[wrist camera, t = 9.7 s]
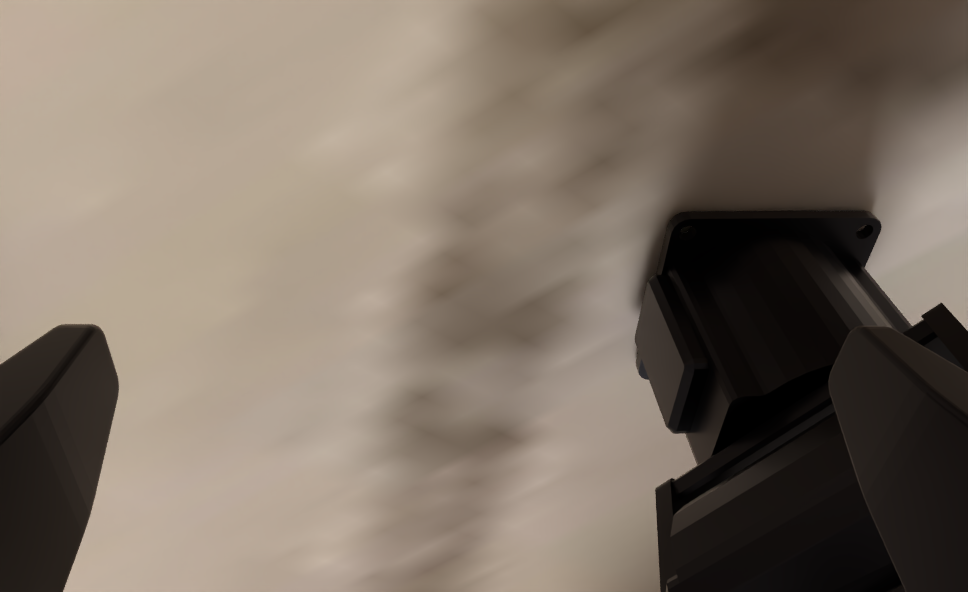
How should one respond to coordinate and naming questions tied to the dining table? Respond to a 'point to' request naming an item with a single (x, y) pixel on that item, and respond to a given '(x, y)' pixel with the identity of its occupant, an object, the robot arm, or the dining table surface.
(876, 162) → the dining table surface
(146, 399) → the dining table surface
